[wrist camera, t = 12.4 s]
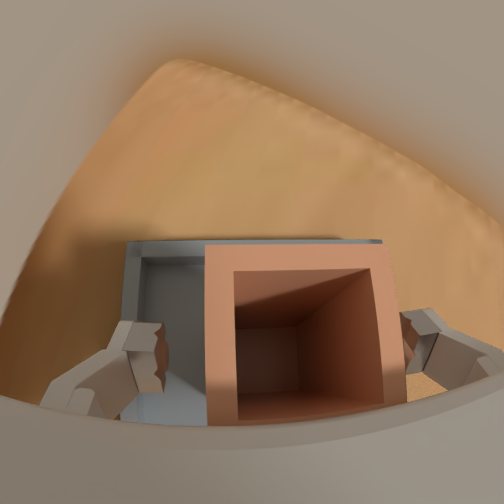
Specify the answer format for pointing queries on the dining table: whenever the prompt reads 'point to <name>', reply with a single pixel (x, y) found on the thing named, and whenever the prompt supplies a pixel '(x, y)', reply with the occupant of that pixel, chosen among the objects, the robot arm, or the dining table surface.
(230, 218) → the dining table surface
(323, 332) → the cup
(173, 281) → the tray
